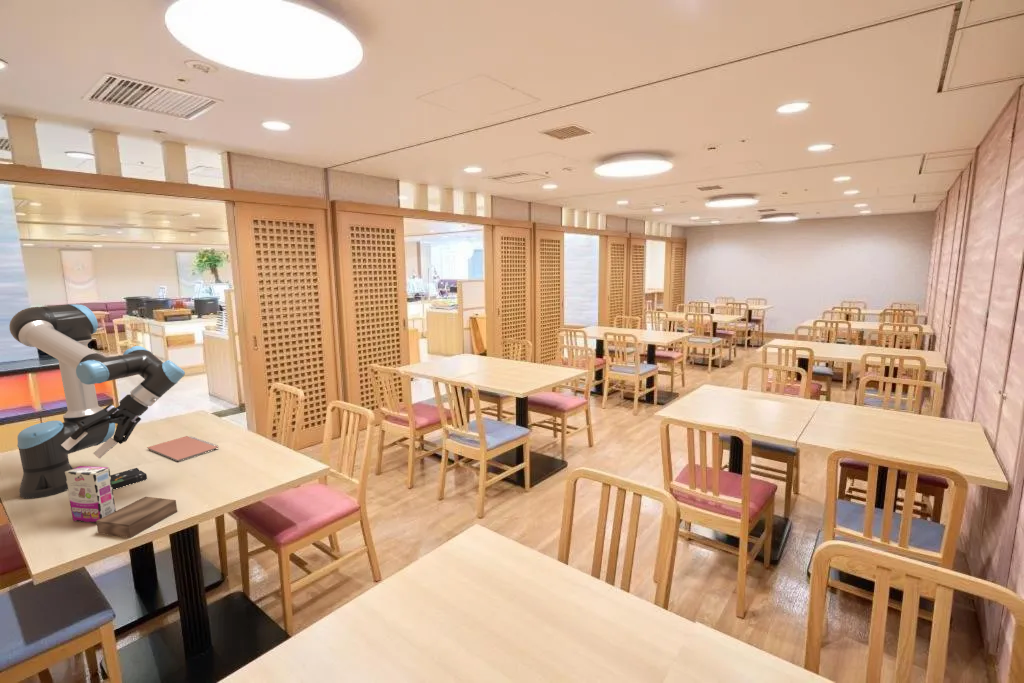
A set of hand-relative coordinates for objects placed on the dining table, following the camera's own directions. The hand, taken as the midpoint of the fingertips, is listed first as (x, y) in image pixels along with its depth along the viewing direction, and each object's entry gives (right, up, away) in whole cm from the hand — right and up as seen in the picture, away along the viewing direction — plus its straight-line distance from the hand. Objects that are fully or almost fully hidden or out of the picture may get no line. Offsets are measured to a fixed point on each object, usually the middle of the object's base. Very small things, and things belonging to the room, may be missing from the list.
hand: (81, 452), depth 149 cm
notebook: (-5, -12, +54) cm, 55 cm away
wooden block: (+22, -20, -5) cm, 31 cm away
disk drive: (-7, -17, +22) cm, 29 cm away
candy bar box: (+6, -21, -2) cm, 22 cm away
